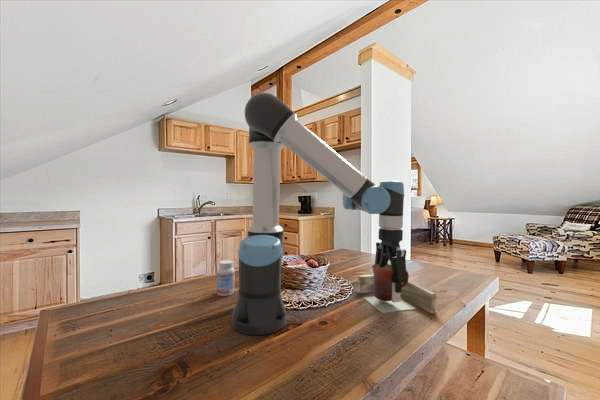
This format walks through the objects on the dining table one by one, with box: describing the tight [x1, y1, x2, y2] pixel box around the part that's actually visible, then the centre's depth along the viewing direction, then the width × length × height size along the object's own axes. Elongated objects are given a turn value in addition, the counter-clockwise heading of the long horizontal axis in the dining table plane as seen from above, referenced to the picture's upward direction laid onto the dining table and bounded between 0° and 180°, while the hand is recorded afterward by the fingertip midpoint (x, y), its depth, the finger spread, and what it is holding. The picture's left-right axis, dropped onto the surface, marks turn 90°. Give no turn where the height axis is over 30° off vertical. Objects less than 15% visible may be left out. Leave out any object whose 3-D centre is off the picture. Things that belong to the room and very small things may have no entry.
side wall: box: [357, 274, 374, 294], centre depth 103 cm, size 14×2×6 cm, turn 105°
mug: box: [371, 263, 410, 301], centre depth 92 cm, size 12×9×10 cm
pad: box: [362, 295, 417, 314], centre depth 92 cm, size 12×12×1 cm
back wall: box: [401, 279, 437, 314], centre depth 96 cm, size 2×21×6 cm, turn 15°
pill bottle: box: [216, 259, 236, 297], centre depth 98 cm, size 6×6×11 cm
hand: (388, 296), depth 92 cm, fingers closed on mug, 7 cm apart
